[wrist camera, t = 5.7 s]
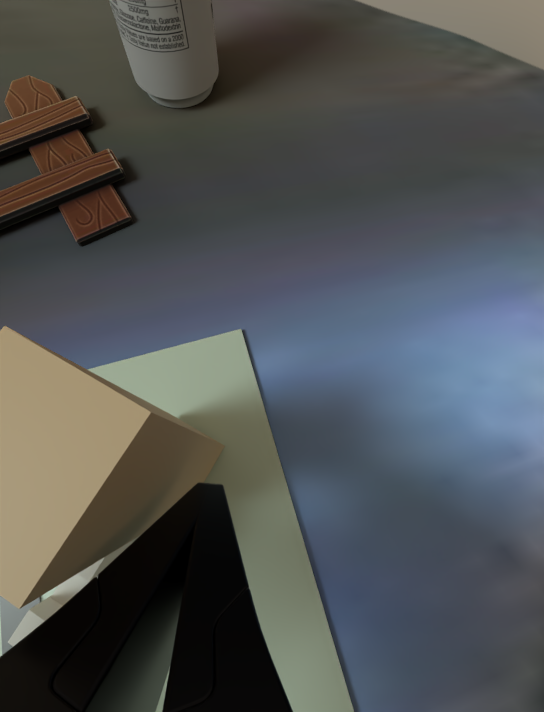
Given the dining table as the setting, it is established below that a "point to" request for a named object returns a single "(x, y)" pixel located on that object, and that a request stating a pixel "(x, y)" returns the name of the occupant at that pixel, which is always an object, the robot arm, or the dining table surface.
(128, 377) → the mat
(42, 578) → the gate
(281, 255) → the dining table surface
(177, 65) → the energy drink can
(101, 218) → the decorative fence
